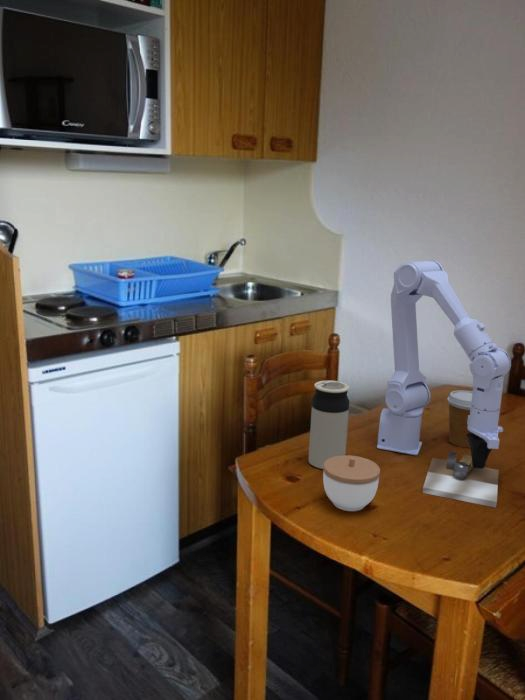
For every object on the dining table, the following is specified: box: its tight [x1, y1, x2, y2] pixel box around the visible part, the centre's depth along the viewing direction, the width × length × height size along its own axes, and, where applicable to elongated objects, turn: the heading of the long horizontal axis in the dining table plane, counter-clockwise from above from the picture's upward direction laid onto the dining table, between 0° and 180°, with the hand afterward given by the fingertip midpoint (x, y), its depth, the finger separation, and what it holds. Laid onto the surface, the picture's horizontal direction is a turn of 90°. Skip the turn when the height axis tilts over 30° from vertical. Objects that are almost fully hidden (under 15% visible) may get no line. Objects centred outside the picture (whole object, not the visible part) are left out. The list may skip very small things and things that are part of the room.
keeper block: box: [446, 450, 457, 470], centre depth 135 cm, size 2×4×2 cm, turn 158°
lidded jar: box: [322, 454, 381, 512], centre depth 118 cm, size 11×11×9 cm
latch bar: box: [453, 453, 473, 479], centre depth 131 cm, size 9×3×3 cm, turn 148°
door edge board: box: [422, 457, 500, 508], centre depth 129 cm, size 14×16×1 cm
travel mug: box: [308, 379, 350, 470], centre depth 134 cm, size 8×8×18 cm
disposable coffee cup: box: [447, 390, 473, 448], centre depth 150 cm, size 10×10×12 cm
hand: (478, 467), depth 132 cm, fingers closed, pressing on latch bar
